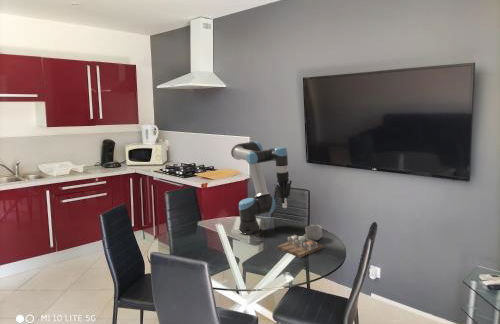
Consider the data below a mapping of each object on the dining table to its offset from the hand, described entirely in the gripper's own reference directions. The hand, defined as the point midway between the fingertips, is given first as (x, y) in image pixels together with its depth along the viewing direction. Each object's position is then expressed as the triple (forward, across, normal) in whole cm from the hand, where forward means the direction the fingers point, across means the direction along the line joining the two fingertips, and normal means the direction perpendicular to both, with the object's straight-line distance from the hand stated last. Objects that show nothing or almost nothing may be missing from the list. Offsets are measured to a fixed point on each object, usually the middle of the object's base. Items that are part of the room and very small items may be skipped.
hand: (284, 207), depth 238 cm
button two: (+19, -1, -15) cm, 24 cm away
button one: (+21, -1, -8) cm, 22 cm away
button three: (+20, -1, -22) cm, 30 cm away
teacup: (+23, +15, -10) cm, 29 cm away
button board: (+22, -3, -15) cm, 27 cm away
